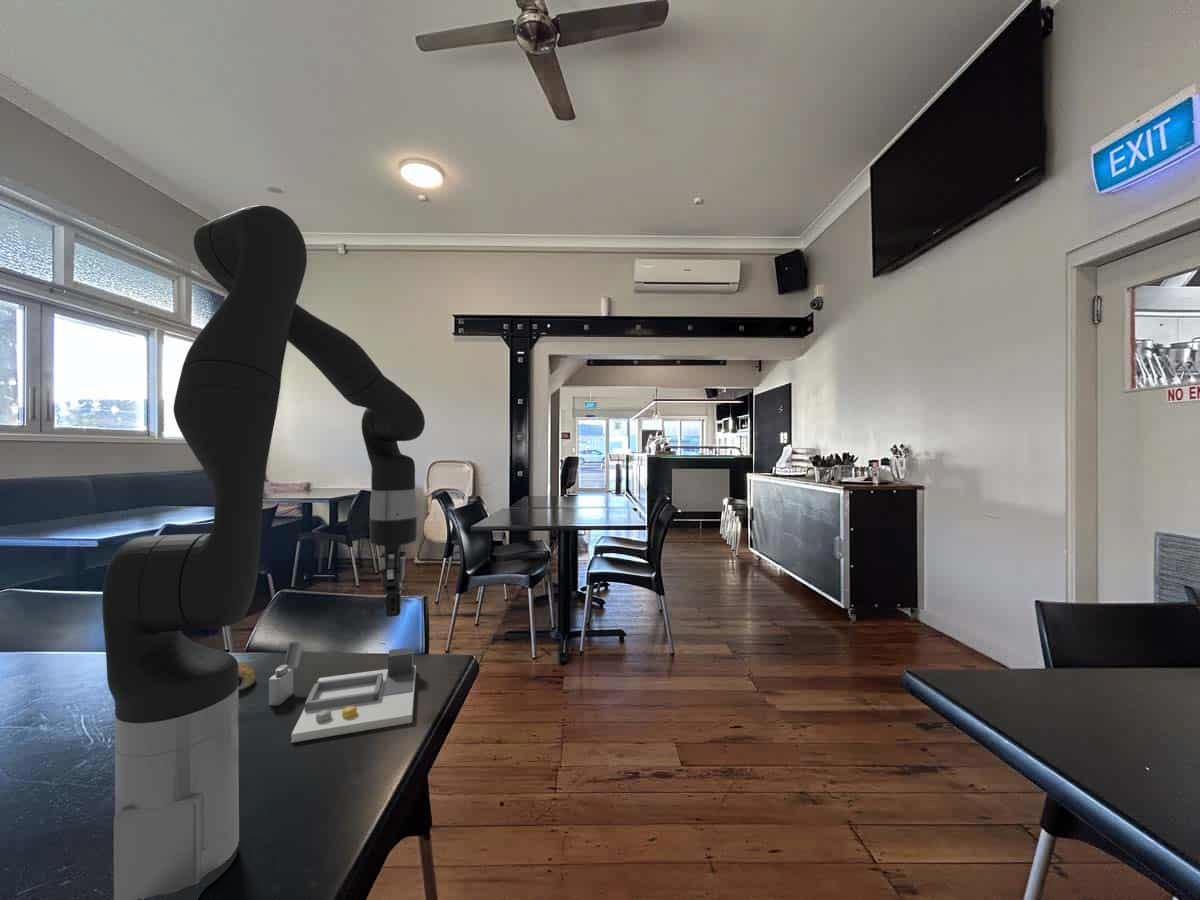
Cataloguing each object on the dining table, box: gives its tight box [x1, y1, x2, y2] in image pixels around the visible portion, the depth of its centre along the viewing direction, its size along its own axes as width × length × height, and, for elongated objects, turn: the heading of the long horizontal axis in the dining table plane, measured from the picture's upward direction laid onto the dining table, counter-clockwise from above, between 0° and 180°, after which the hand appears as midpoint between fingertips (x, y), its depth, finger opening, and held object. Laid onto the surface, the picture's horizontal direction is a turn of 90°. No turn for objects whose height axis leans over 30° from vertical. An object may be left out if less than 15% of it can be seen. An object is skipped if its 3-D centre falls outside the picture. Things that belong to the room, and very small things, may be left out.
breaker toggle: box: [387, 647, 414, 676], centre depth 89 cm, size 3×4×4 cm
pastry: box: [238, 662, 256, 692], centre depth 88 cm, size 9×7×4 cm
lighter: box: [268, 641, 304, 706], centre depth 84 cm, size 7×2×8 cm, turn 3°
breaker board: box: [290, 664, 417, 744], centre depth 81 cm, size 18×16×2 cm
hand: (393, 614), depth 86 cm, fingers closed
